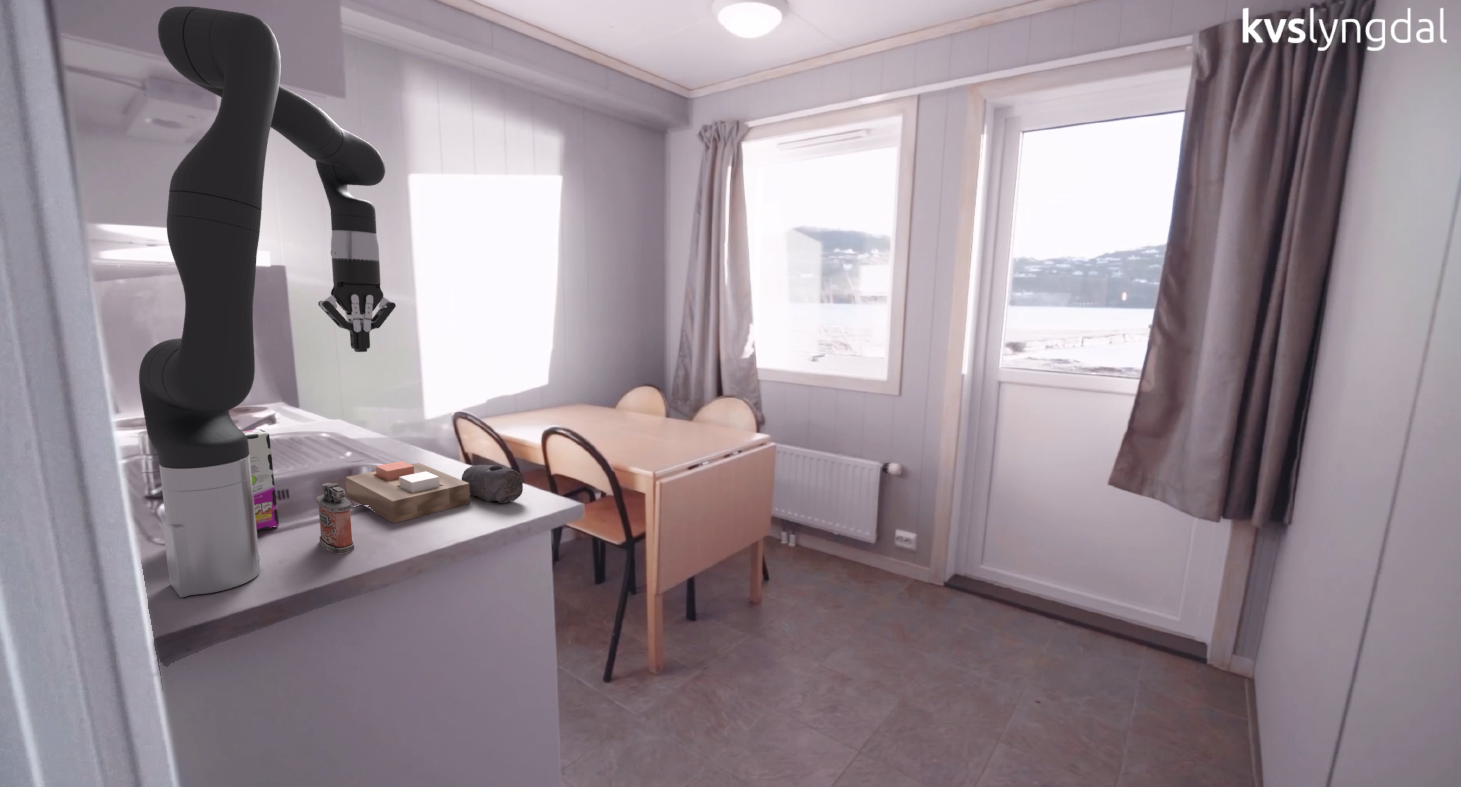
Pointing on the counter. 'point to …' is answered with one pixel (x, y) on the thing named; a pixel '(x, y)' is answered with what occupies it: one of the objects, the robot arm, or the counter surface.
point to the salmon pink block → (394, 470)
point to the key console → (407, 495)
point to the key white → (419, 482)
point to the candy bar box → (262, 479)
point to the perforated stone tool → (493, 483)
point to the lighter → (335, 519)
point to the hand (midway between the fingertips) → (360, 351)
